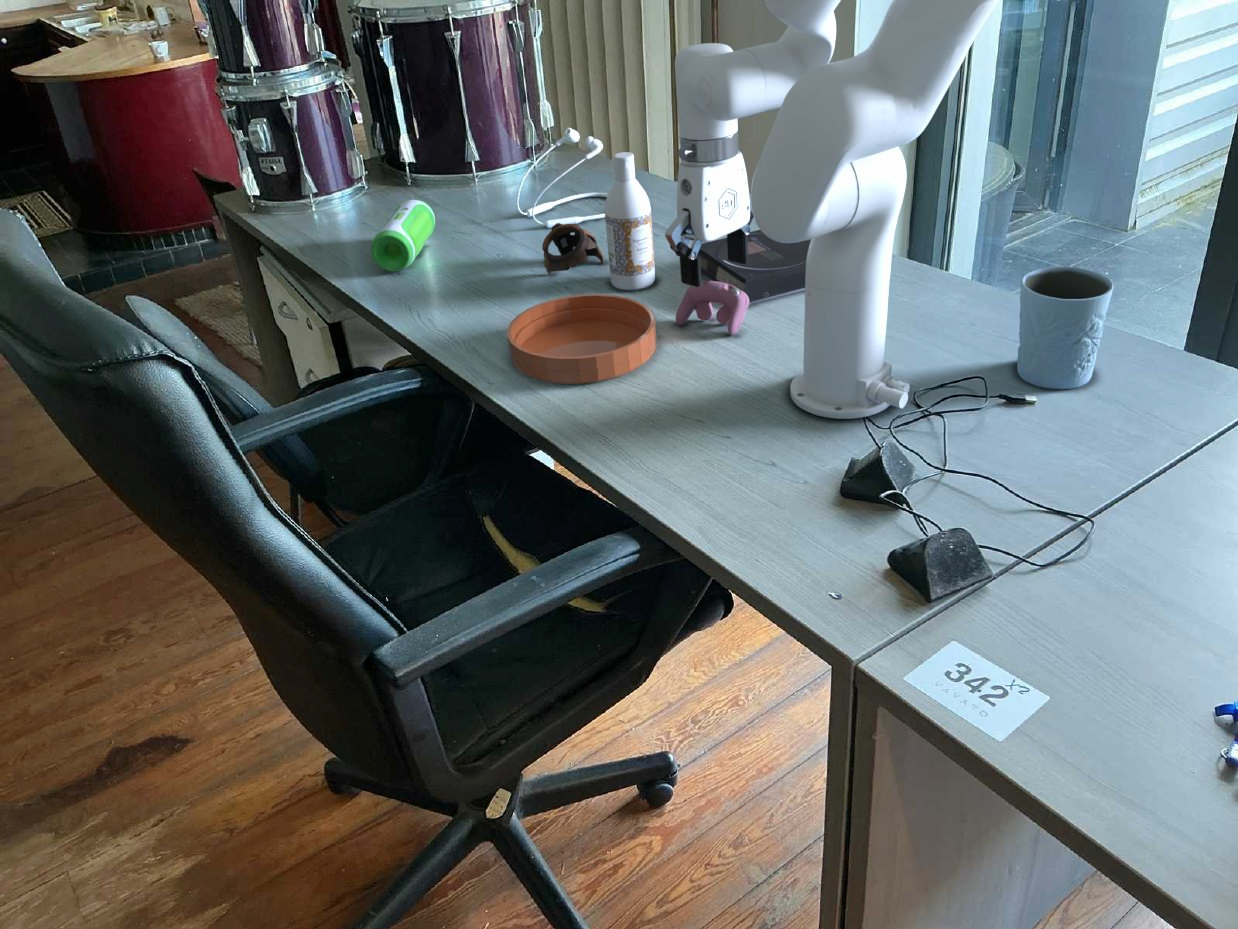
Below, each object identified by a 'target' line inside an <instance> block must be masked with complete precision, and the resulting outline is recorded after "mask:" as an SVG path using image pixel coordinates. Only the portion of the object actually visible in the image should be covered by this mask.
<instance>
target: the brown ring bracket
mask: <svg viewBox="0 0 1238 929" xmlns="http://www.w3.org/2000/svg"><path fill="white" fill-rule="evenodd" d="M550 230H551V231H550V232H549V233H548V234H547V235H546V236H545V237H544V240H543V242H542V244H541V245H542V248H541V249H542V251H543V258H544V259H543V261H544V262H543V265H544V268H545V270H546V272H547V274H548V275H550V276H551V275H552V274H553V273H554V272H563V271H568V270H570V268H575V267H576V266H578V265H579V264H581V263H589V262H590V260H589V259H588V257H596V258H597V259H598V260H599V261H600V263H601V264H602V265H604V263H605V260H604V254H603V252H602V250H601V249H600V247H599V246H598V242H597V239H596V237H595V235H593V234H592V233H591V232H590V231H588V230H587V229H584V228H582V227H580V226H579V225H577V224H564V225H563V224H561V223H556V224H555V225H554V226H553V227H552V228H551V229H550ZM572 233H574V234H572ZM551 243H554V246H555V247H556V248H557V250H558V251H557V252H558V253H559V254H557V255H556V254H552V253H550V252H549V247H550V245H551Z"/></svg>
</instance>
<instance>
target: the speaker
mask: <svg viewBox="0 0 1238 929" xmlns="http://www.w3.org/2000/svg"><path fill="white" fill-rule="evenodd" d="M435 226H436V216H435V212H434V210H433V209H432V207H431V206H430V205H429V204H428V203H426V202H425V201H423V200H420V199H409V200H406V201H404V202H402V203H400V204H399V205H398V206H397V207H396V208H395V210H394V212H393V213H392V215H391V216H390V217H389V219H388V220H387V221H386V223H385V224H384V225H383V226H382V227H381V228H380V229H379V230H378V231H377V232H376V234H375V235H374V237H373V238H372V242H371V255H372V259H373V260H374V262H375V264H377V265H378V266H379V267H380V268H382V269H383V270H385V271H388V272H394V273H395V272H400V271H402V270H404V269H406V268H408V267H409V266H411V265H412V264H413V263H414V261H415V259H417V257H418V255H419V253H420V252H421V250H422V249H423V248H424V245H425V243H426V241H427V240H428V239H429V238H430V237H431V235H432V234H433V233H434V231H435Z"/></svg>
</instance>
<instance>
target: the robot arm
mask: <svg viewBox="0 0 1238 929" xmlns="http://www.w3.org/2000/svg"><path fill="white" fill-rule="evenodd" d="M841 1H842V0H763V2H764V4H765V5H766V7H767V9H768V10H769V11H770V13H771V14H772V15H773V16H774V17H775V18H776V19H777V20H779V21H780V22H781V23H783V24H785V25H786V26H788V27H787V28H786V30H785V31H784V33H783V34H782V35H781V36H780V38H779V39H778V40H777V41H773V42H768V43H763V44H758V45H754V46H751V47H745V48H740V49H738V50H734V49H732V47H730V46H729V45H728V44H724V43H719V42H706V43H697V44H692V45H687V46H685V47H683V48H681V49H680V50H678V51H677V53H676V56H675V57H674V58H675V59H674V75H675V76H674V77H675V91H676V92H675V93H676V94H675V95H676V107H677V108H676V109H677V122H678V140H679V148H678V151H677V155H678V157H679V158H680V163H679V164H678V171H677V182H676V183H677V184H676V218H675V219H674V221H672V223H671V224H670V225H669V227H668V228H667V229H666V230H665V232H664V237H665V238H666V240H667V242H668V245H669V247H670V249H671V250H672V251H673V252H674V253H675V255H676V257H679V266H680V267H679V268H680V282H681V283H682V284H684V285H688V286H690V287H691V286H695V287H699V286H701V284H702V282H703V281H702V273H701V261H700V258H698V257H696V256H697V254H698V252H699V249H700V247H701V244H702V243H706V242H711V241H714V240H719V239H722V238H723V237H725V236H726V238H727V249H728V260H729V261H732V262H737V263H741V264H746V263H748V242H747V236H746V235H748V234H749V233H750V232H751V227H750V226H751V224H752V222H753V219H754V222H755V223H756V224H755V225H756V226H757V228H758V230H761V231H762V232H763V233H764V234H765V235H766V236H767V237H769V238H770V239H772V240H774V241H777V242H781V243H797V242H801V241H805V240H809V239H811V242H810V245H809V249H808V253H807V259H806V276H805V290H804V318H803V319H804V320H803V322H804V325H803V326H804V327H803V368H802V369H803V370H802V371H801V372H799V373H798V374H797V375H795V376H794V377H793V378H792V380H791V382H790V386H789V388H790V391H789V394H790V399H791V400H792V401H793V403H794V404H795V405H796V406H798V408H800V409H802V411H805V412H807V413H810V414H811V415H815V416H818V417H821V418H822V417H823V418H827V419H837V420H854V419H862V418H867V417H871V416H873V415H876V414H879V413H881V412H883V411H885V410H886V409H887V408H889V407H890V406H892V407H895V408H899V409H900V410H901V409H904V408H905V406H906V405H907V403H908V400H909V394H908V393H909V392H910V387H911V385H910V384H909V383H907V382H904V381H902V380H896V379H894V377H893V376H892V371H893V370H892V369H893V364H891V363H889V362H885V355H886V354H885V353H886V351H885V350H886V337H887V322H888V306H889V291H890V278H891V270H892V257H893V256H892V255H893V246H894V239H895V232H896V228H897V224H898V219H899V215H900V212H901V209H902V204H903V201H904V198H905V193H906V187H907V186H906V185H907V175H908V174H907V166H906V161H905V156H904V155H903V153H902V151H901V149H900V147H903V146H905V145H907V144H910V143H911V142H913V141H915V140H916V139H917V138H919V136H920V135H921V134H922V133H923V132H924V131H925V129H926V127H927V126H928V125H929V123H930V121H931V120H932V118H933V116H934V114H935V113H936V111H937V109H938V107H939V105H940V104H941V102H942V100H943V98H944V96H945V94H946V93H947V91H948V90H949V87H950V86H951V84H952V82H953V80H954V79H955V76H956V75H957V73H958V71H959V69H960V68H961V65H962V64H963V62H964V60H965V58H966V56H967V54H968V52H969V50H970V48H971V46H972V44H973V43H974V42H975V39H976V38H977V36H978V35H979V33H980V31H981V29H982V28H983V26H984V25H985V23H986V21H987V20H988V18H989V17H990V15H991V13H992V12H993V10H994V9H995V8H996V6H997V4H998V2H1000V0H892V2H891V3H890V5H889V7H888V8H887V11H886V13H885V15H884V17H883V20H882V23H881V25H880V26H879V29H878V30H877V32H876V34H875V37H874V38H873V40H872V41H871V43H870V44H869V45H868V47H867V48H866V49H865V50H863V51H862V52H860V53H858V54H856V55H854V56H852V57H848V58H844V59H840V60H837V61H833V62H831V60H832V57H833V56H834V51H835V46H836V38H837V20H836V16H835V12H834V11H835V10H836V8H837V7H838V6H839V4H840V2H841ZM775 109H776V110H777V109H779V110H778V112H777V115H776V117H775V120H774V123H773V125H772V128H771V130H770V132H769V135H768V137H767V140H766V142H765V144H764V147H763V150H762V152H761V155H760V158H759V160H758V163H757V165H756V168H755V170H754V173H753V177H752V182H751V187H750V188H751V189H750V190H749V182H748V175H747V168H746V164H745V160H744V156H743V153H742V151H740V150H739V130H738V129H739V127H738V126H739V125H738V119H739V120H740V119H742V118H746V117H751V116H754V115H757V114H760V113H764V112H768V111H771V110H772V111H773V110H775ZM690 241H692V243H691V246H689V243H690Z"/></svg>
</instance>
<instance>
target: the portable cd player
mask: <svg viewBox="0 0 1238 929" xmlns="http://www.w3.org/2000/svg"><path fill="white" fill-rule="evenodd" d="M746 236H747V242H748V263H746V264H741V263H737V262H732V261H729V260H728V249H727V237H724V238H723V237H722V238H718V239H716V240H714V241H711V242H702V244H701V247H700V249H699V252H698V254H697V256H696V257H698V258H700V261H701V275H703V276H704V277H706V278H708V279H709V281H718V282H723V283H727V284H730V285H732V286H734V287H736V288H738V289H739V290H741V291H743V292H744V293H746V294H747V296H748V298H749V305H753V304H758V303H761V302H764V301H768V300H772V299H773V300H774V299H776V298H781V297H784V296H788V295H792V294H795V293H796V294H797V293H799V292H803V291H804V292H805V276H806V259H807V253H808V249H809V245H810V242H811V239H809V240H805V241H801V242H797V243H781V242H777V241H774V240H772V239H770V238H769V237H767V236H766V235H765V234H764V233H763V232H762V231H761V230H760V229H757V230H752V231H750V233H749V234H748V235H746Z"/></svg>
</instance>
